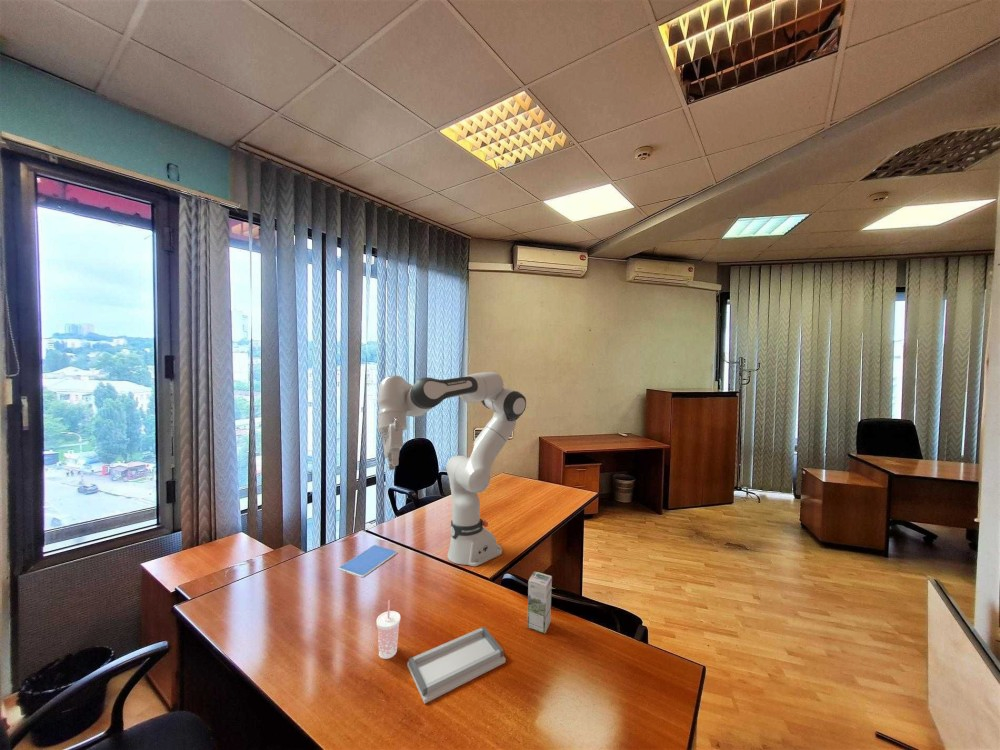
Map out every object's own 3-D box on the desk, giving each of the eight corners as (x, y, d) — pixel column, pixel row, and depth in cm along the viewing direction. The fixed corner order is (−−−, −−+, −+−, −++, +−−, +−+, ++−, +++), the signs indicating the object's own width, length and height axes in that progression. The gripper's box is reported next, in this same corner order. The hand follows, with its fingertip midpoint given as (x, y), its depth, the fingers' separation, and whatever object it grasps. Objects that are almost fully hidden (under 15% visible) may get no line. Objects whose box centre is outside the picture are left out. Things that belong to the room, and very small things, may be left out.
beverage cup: (398, 659, 93) (399, 606, 92) (373, 662, 92) (374, 608, 91) (400, 641, 99) (402, 591, 98) (377, 644, 98) (378, 593, 97)
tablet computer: (362, 579, 127) (362, 576, 127) (336, 570, 132) (336, 567, 132) (398, 554, 145) (398, 551, 145) (374, 547, 150) (374, 544, 150)
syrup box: (551, 622, 108) (552, 574, 108) (545, 635, 103) (546, 585, 102) (533, 616, 110) (534, 569, 110) (526, 628, 105) (527, 579, 105)
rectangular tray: (482, 632, 103) (482, 624, 103) (505, 662, 93) (505, 652, 93) (407, 665, 91) (407, 656, 91) (424, 703, 81) (424, 693, 81)
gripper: (407, 415, 108) (408, 461, 103) (398, 431, 125) (400, 471, 121) (385, 415, 105) (386, 463, 101) (380, 431, 123) (380, 473, 118)
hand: (393, 467), depth 111 cm, fingers open, 8 cm apart
